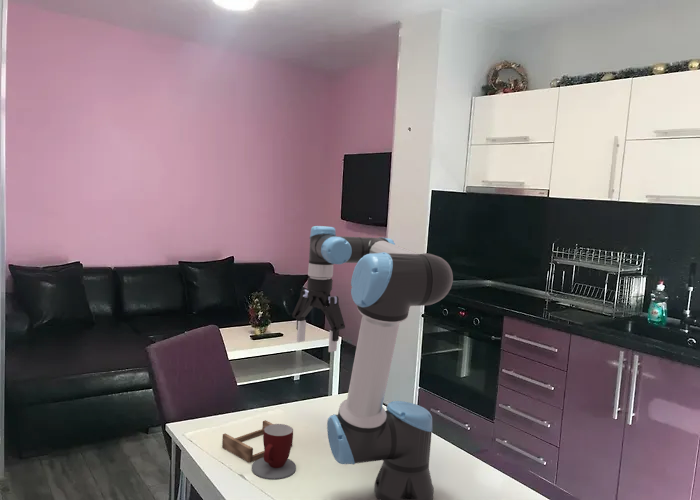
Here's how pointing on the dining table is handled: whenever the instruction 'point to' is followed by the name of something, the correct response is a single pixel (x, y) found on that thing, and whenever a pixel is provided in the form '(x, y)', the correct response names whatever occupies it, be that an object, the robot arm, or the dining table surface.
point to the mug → (277, 444)
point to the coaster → (273, 469)
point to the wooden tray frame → (244, 445)
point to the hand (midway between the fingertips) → (316, 346)
